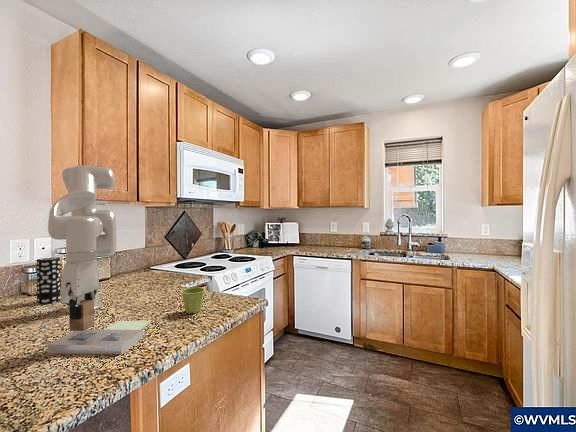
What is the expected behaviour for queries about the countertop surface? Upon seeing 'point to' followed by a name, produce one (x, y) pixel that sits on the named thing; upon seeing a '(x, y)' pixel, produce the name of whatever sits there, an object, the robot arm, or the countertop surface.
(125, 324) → the sage pad
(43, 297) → the spotted tube
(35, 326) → the countertop surface
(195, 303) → the plant pot
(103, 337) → the socket plate
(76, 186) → the robot arm
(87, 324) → the walnut block
